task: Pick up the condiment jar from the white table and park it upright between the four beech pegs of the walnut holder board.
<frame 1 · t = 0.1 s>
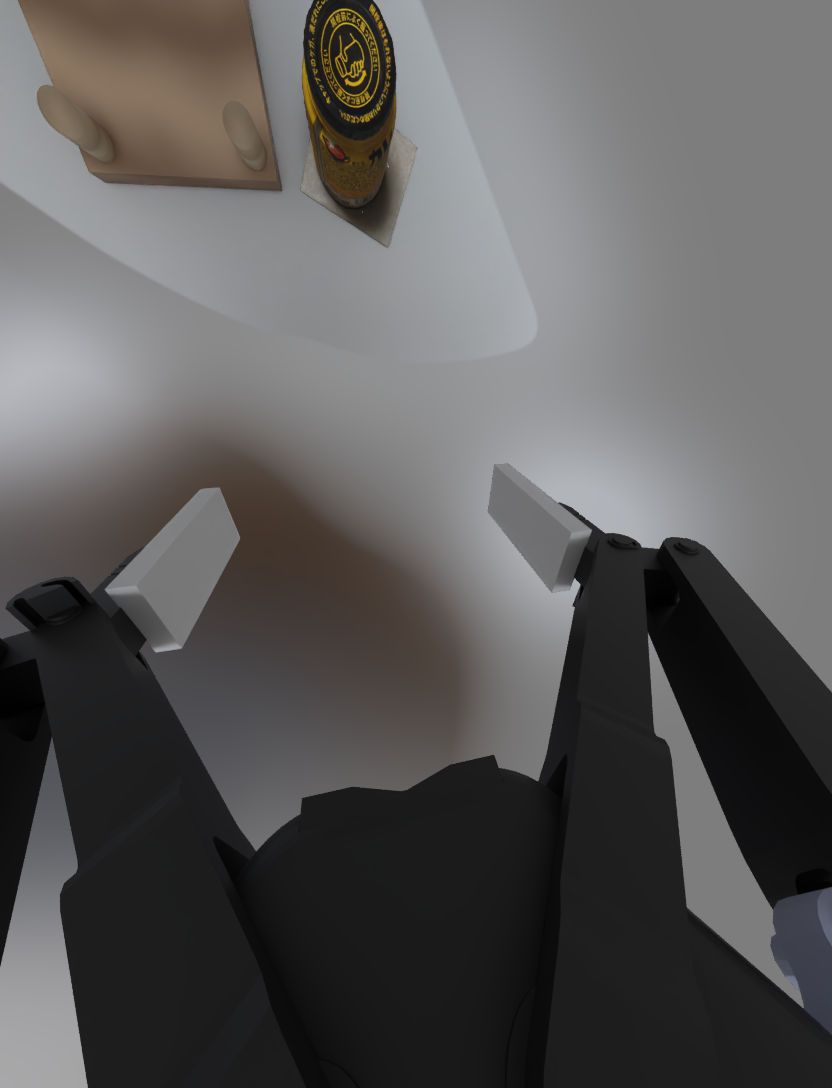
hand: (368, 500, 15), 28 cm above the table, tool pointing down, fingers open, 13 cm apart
condiment: (358, 171, 27), on the table
peg holder: (152, 31, 22), on the table
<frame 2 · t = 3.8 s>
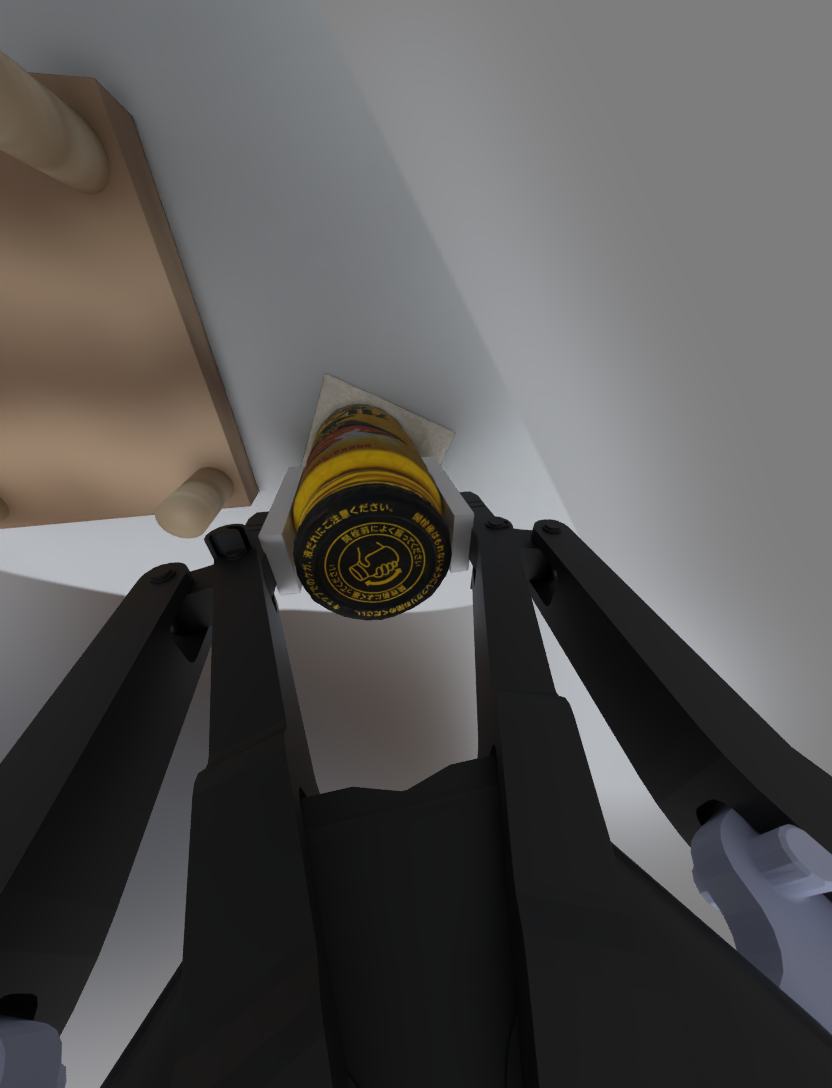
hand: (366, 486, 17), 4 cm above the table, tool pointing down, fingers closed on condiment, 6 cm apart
condiment: (374, 459, 20), on the table, touching gripper
peg holder: (54, 360, 14), on the table
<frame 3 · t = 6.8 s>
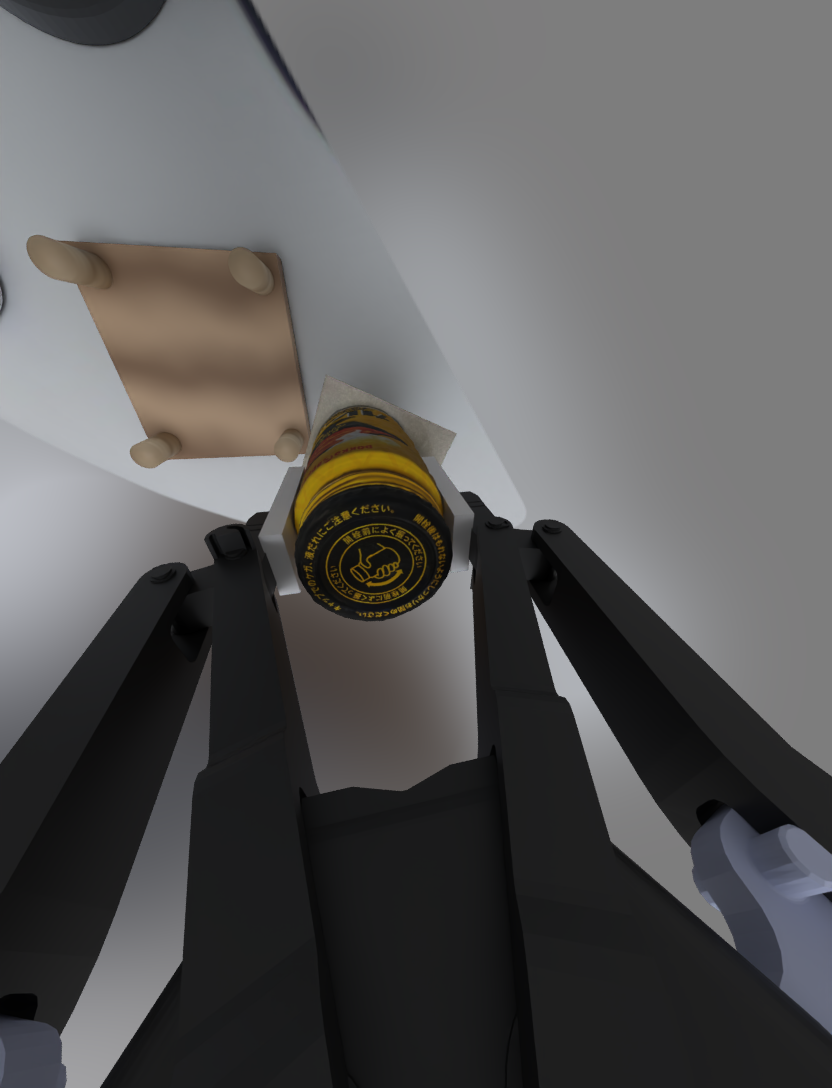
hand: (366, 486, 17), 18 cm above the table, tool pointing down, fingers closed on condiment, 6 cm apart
condiment: (375, 460, 20), point 14 cm above the table, touching gripper
peg holder: (218, 367, 27), on the table
when the fingers open (7 cm above the table, at t = 10.3 s): condiment drops 1 cm, resting on peg holder.
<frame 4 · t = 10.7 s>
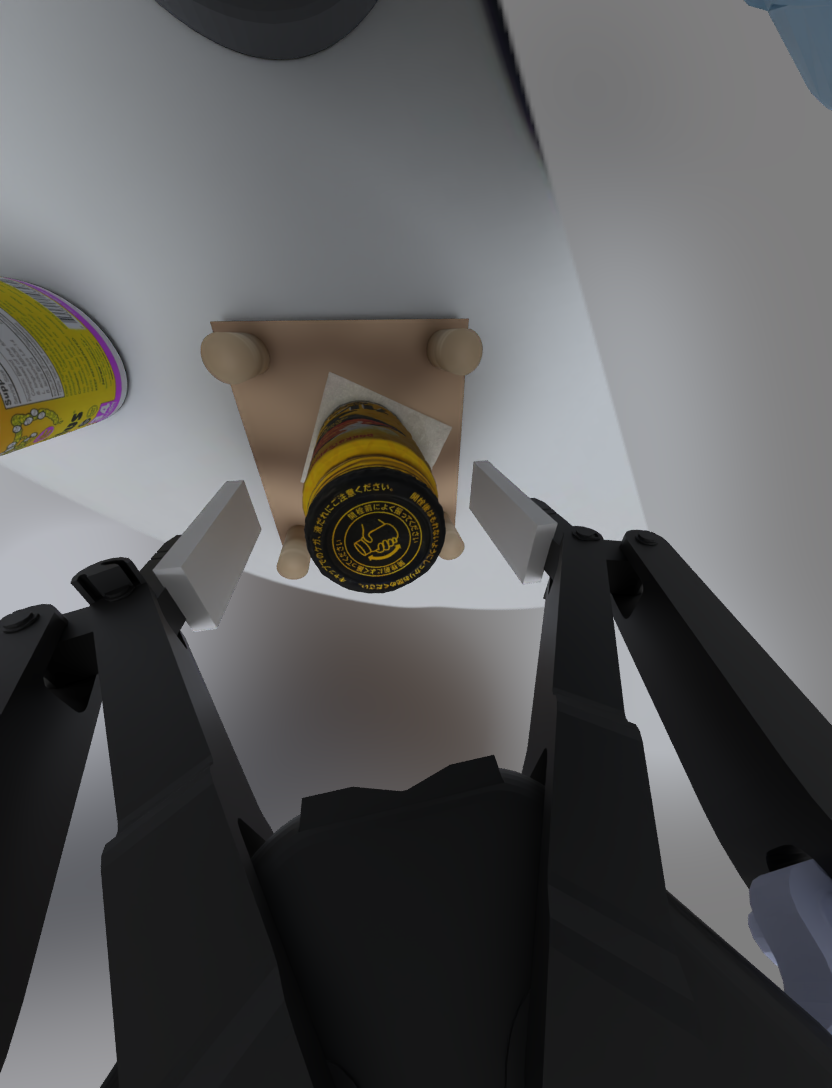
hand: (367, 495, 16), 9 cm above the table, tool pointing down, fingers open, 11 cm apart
condiment: (375, 452, 21), point 2 cm above the table, touching peg holder
peg holder: (361, 446, 23), on the table
supplement bottle: (63, 357, 17), on the table
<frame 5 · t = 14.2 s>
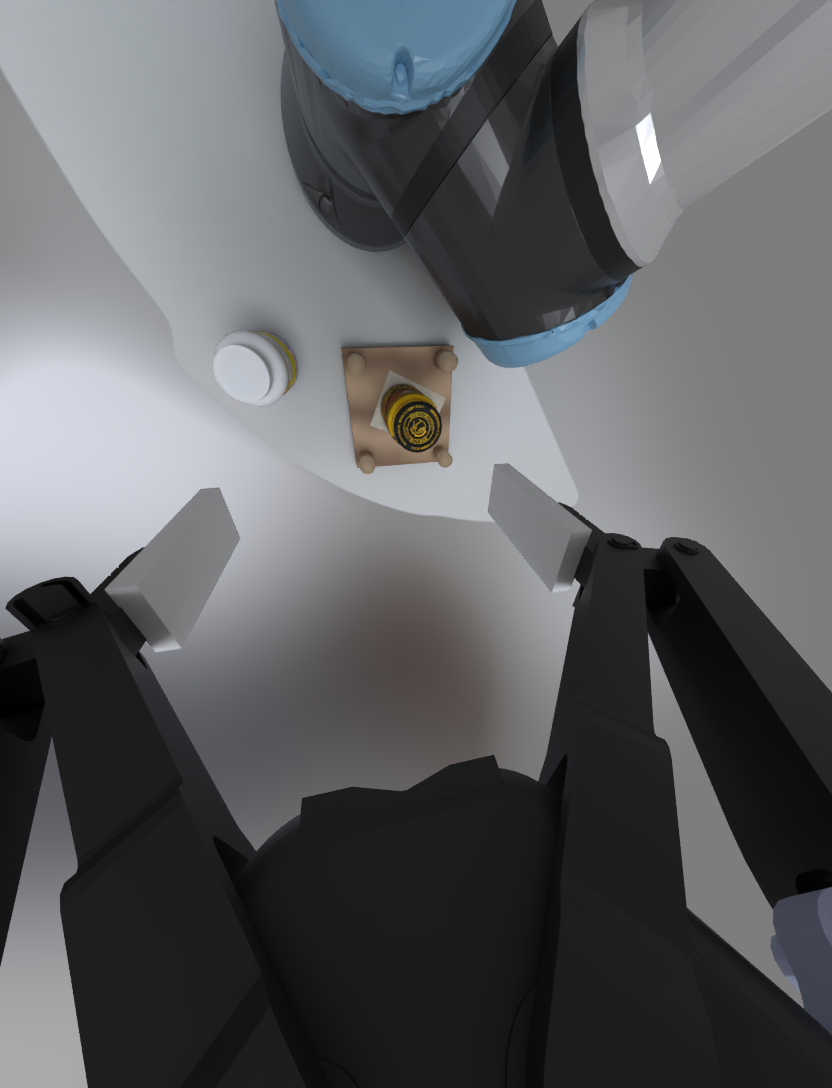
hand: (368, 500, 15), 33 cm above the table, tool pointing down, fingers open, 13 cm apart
condiment: (407, 411, 42), point 2 cm above the table, touching peg holder
peg holder: (399, 408, 44), on the table
supplement bottle: (270, 363, 38), on the table
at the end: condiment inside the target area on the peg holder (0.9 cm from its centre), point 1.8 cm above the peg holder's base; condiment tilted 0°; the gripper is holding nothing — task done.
